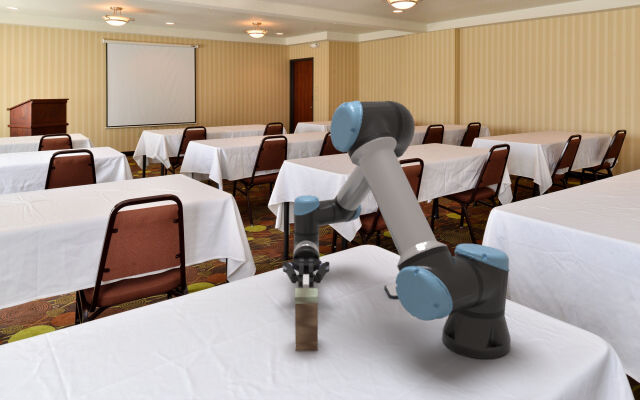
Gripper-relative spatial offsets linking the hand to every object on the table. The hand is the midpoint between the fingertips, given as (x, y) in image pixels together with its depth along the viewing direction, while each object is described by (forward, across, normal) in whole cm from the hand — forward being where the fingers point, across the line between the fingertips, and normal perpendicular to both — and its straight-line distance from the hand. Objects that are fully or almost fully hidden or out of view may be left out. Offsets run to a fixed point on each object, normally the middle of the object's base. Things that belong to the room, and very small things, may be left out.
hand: (305, 289), depth 119 cm
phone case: (-24, -31, -12) cm, 41 cm away
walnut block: (+7, 0, -11) cm, 13 cm away
